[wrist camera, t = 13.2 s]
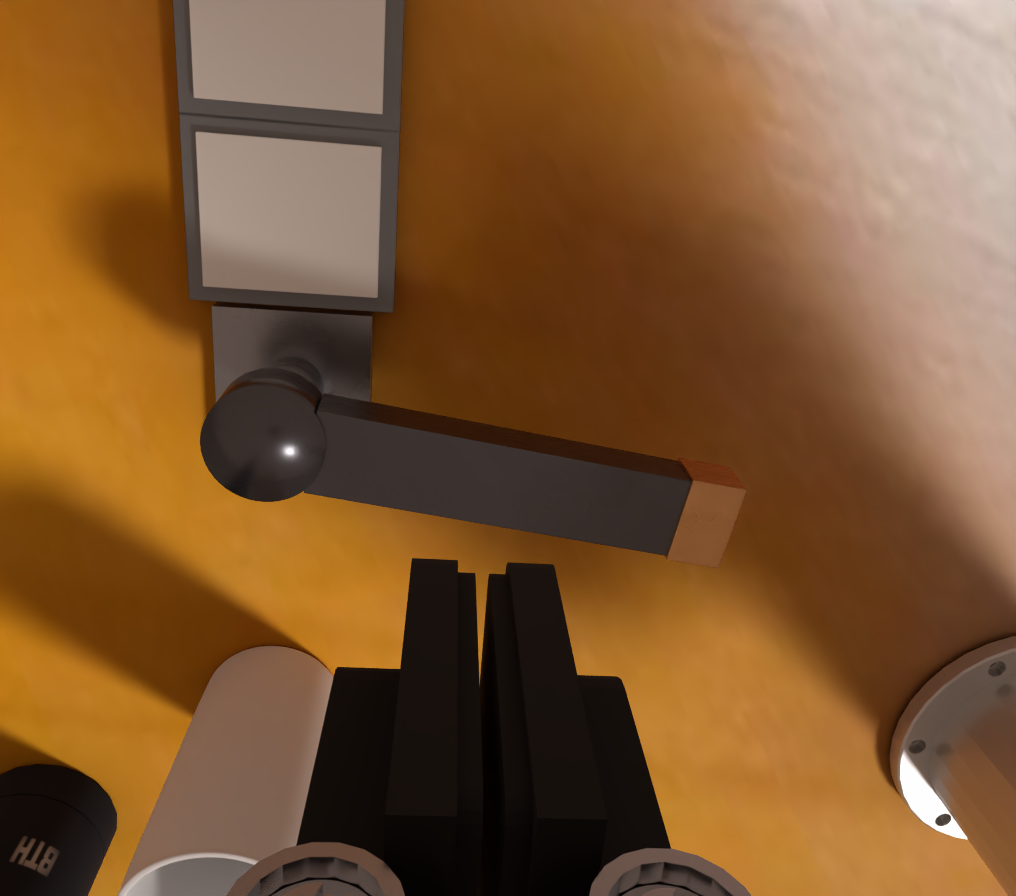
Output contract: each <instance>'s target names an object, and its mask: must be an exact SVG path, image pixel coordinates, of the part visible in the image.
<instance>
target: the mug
mask: <svg viewBox="0 0 1016 896" xmlns="http://www.w3.org/2000/svg"><path fill="white" fill-rule="evenodd" d="M332 682H333V675H332V674H331V673H330V671H329V670H328V669H327V668H326V667H325V666H324V665H323V664H322V663H320V662H319V661H318V660H316V659H315V658H313V657H312V656H310V655H308V654H306V653H304V652H301V651H299V650H296V649H292V648H288V647H282V646H261V647H255V648H250V649H247V650H244V651H241V652H239V653H237V654H235V655H233V656H232V657H230V658H228V659H227V660H226V661H225V662H223V663H222V664H221V665H220V666H219V667H218V668H217V670H216V671H215V672H214V674H213V675H212V677H211V679H210V681H209V683H208V685H207V687H206V689H205V691H204V693H203V696H202V698H201V700H200V702H199V704H198V706H197V709H196V711H195V713H194V716H193V718H192V720H191V723H190V725H189V727H188V730H187V732H186V735H185V737H184V739H183V742H182V744H181V747H180V749H179V751H178V754H177V756H176V758H175V761H174V763H173V765H172V768H171V770H170V772H169V775H168V777H167V779H166V782H165V784H164V786H163V789H162V791H161V793H160V796H159V798H158V800H157V803H156V805H155V807H154V810H153V812H152V814H151V817H150V819H149V821H148V823H147V826H146V828H145V830H144V833H143V835H142V837H141V840H140V842H139V844H138V847H137V849H136V851H135V854H134V856H133V859H132V861H131V863H130V866H129V868H128V871H127V873H126V876H125V878H124V881H123V884H122V886H121V889H120V891H119V893H118V895H117V896H226V895H227V894H228V892H229V891H230V889H231V888H232V886H233V885H234V883H235V882H236V881H237V879H238V878H240V877H241V876H242V875H243V874H244V873H246V872H247V871H248V870H249V869H250V868H251V867H253V866H254V865H255V864H256V863H257V862H259V861H260V860H262V859H264V858H266V857H268V856H271V855H273V854H275V853H277V852H279V851H281V850H283V849H285V848H289V847H293V846H296V844H297V840H298V835H299V831H300V826H301V822H302V817H303V812H304V808H305V803H306V799H307V794H308V790H309V785H310V781H311V776H312V772H313V767H314V763H315V758H316V754H317V749H318V745H319V740H320V736H321V731H322V727H323V722H324V718H325V713H326V709H327V704H328V700H329V695H330V691H331V686H332Z"/></svg>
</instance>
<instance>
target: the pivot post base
mask: <svg viewBox="0 0 1016 896" xmlns="http://www.w3.org/2000/svg"><path fill="white" fill-rule="evenodd" d="M211 307H212V329H213V351H214V373H215V395H216V402H217V401H218V399H219V398H220V397H221V395H222V394H223V392H224V391H225V390H226V388H227V387H228V386H229V385H230V384H231V383H232V382H233V381H234V380H235V379H237V378H238V377H240V376H242V375H243V374H245V373H248V372H250V371H253V370H257V369H263V368H277V369H284V370H288V371H291V372H294V373H296V374H299V375H300V376H302V377H304V378H306V379H307V380H309V381H310V382H311V383H312V384H314V385H315V386H316V387H317V388H318V389H319V391H320V392H321V393H322V394H324V393H326V394H331V395H336V396H341V397H347V398H352V399H357V400H362V401H368V402H371V383H372V344H373V312H372V311H356V310H341V309H325V308H310V307H294V306H279V305H263V304H248V303H232V302H217V301H216V302H215V303H214V304H213V305H212V306H211Z"/></svg>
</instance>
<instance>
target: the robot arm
mask: <svg viewBox="0 0 1016 896" xmlns="http://www.w3.org/2000/svg"><path fill="white" fill-rule="evenodd" d="M889 758H890V768H891V776H892V778H893V781H894V784H895V786H896V789H897V791H898V792H899V794H900V795H901V797H902V798H903V800H904V802H905V803H906V805H907V806H908V808H909V809H910V810H911V811H912V812H913V813H914V815H915V816H916V817H917V818H918V819H919V820H920V821H921V822H923V823H924V824H926V825H927V826H929V827H930V828H932V829H934V830H936V831H938V832H941V833H944V834H946V835H949V836H952V837H957V838H963V839H968V840H969V841H970V843H971V844H972V846H973V847H974V848H975V850H976V851H977V853H978V854H979V855H980V857H981V858H982V860H983V861H984V862H985V864H986V865H987V867H988V868H989V869H990V871H991V872H992V874H993V875H994V876H995V878H996V879H997V881H998V882H999V883H1000V885H1001V886H1002V888H1003V889H1004V891H1005V892H1006V893H1007V895H1008V896H1016V636H1012V637H1009V638H1005V639H1002V640H999V641H995V642H992V643H988V644H986V645H984V646H982V647H980V648H977V649H975V650H973V651H971V652H969V653H966V654H964V655H963V656H961V657H960V658H958V659H957V660H955V661H953V662H952V663H950V664H949V665H947V666H946V667H944V668H943V669H942V670H941V671H939V672H938V673H937V674H936V675H935V676H934V677H932V678H931V679H930V680H929V681H928V682H927V683H926V684H925V685H924V686H923V687H922V688H921V689H920V691H919V692H918V693H917V694H916V695H915V696H914V698H913V699H912V700H911V701H910V703H909V704H908V706H907V708H906V709H905V711H904V713H903V714H902V716H901V718H900V719H899V721H898V724H897V727H896V730H895V732H894V735H893V738H892V743H891V750H890V757H889ZM226 896H751V895H750V893H749V892H748V891H747V889H746V888H745V887H744V886H743V885H742V884H741V883H739V882H738V881H737V880H736V879H735V878H733V877H732V876H731V875H730V874H729V873H727V872H726V871H725V870H724V869H722V868H721V867H719V866H717V865H715V864H713V863H711V862H709V861H707V860H705V859H703V858H701V857H699V856H697V855H693V854H689V853H686V852H682V851H678V850H675V849H671V847H670V843H669V840H668V836H667V833H666V829H665V826H664V822H663V819H662V816H661V812H660V809H659V805H658V802H657V798H656V795H655V791H654V788H653V784H652V781H651V777H650V774H649V770H648V767H647V764H646V760H645V757H644V753H643V750H642V746H641V743H640V739H639V736H638V732H637V729H636V725H635V722H634V719H633V715H632V712H631V708H630V705H629V701H628V698H627V694H626V691H625V688H624V685H623V683H622V680H621V679H620V678H619V677H614V676H585V675H577V672H576V667H575V662H574V657H573V653H572V648H571V643H570V638H569V634H568V629H567V624H566V620H565V615H564V610H563V605H562V601H561V596H560V591H559V586H558V582H557V577H556V572H555V568H554V565H552V564H529V563H507V567H506V573H505V574H489V579H488V589H487V601H486V613H485V626H484V638H483V651H482V663H481V675H480V688H479V661H478V633H477V606H476V578H475V573H459V572H458V560H439V559H416V558H412V563H411V573H410V582H409V592H408V602H407V611H406V621H405V630H404V640H403V649H402V659H401V669H379V668H350V667H337V669H336V670H335V674H334V677H333V682H332V686H331V691H330V695H329V700H328V704H327V709H326V713H325V718H324V722H323V727H322V731H321V736H320V740H319V745H318V749H317V754H316V758H315V763H314V767H313V772H312V776H311V781H310V785H309V790H308V794H307V799H306V803H305V808H304V812H303V817H302V822H301V826H300V831H299V835H298V840H297V844H296V846H293V847H289V848H285V849H283V850H281V851H279V852H277V853H275V854H273V855H271V856H268V857H266V858H264V859H262V860H260V861H259V862H257V863H256V864H255V865H254V866H253V867H251V868H250V869H249V870H248V871H247V872H246V873H244V874H243V875H242V876H241V877H240V878H238V879H237V881H236V882H235V883H234V885H233V886H232V888H231V889H230V891H229V892H228V894H227V895H226Z"/></svg>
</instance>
